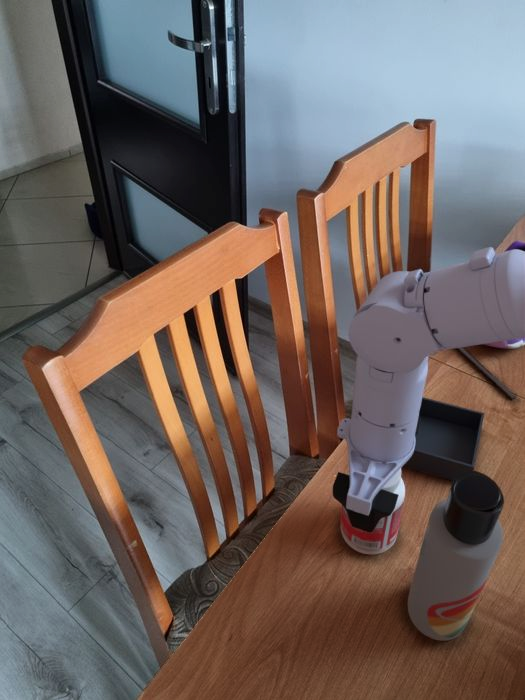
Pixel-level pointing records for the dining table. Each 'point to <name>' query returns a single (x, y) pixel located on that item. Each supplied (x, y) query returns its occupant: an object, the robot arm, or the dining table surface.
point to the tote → (446, 439)
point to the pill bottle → (385, 528)
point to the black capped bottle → (456, 556)
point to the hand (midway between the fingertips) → (372, 495)
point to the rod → (487, 373)
